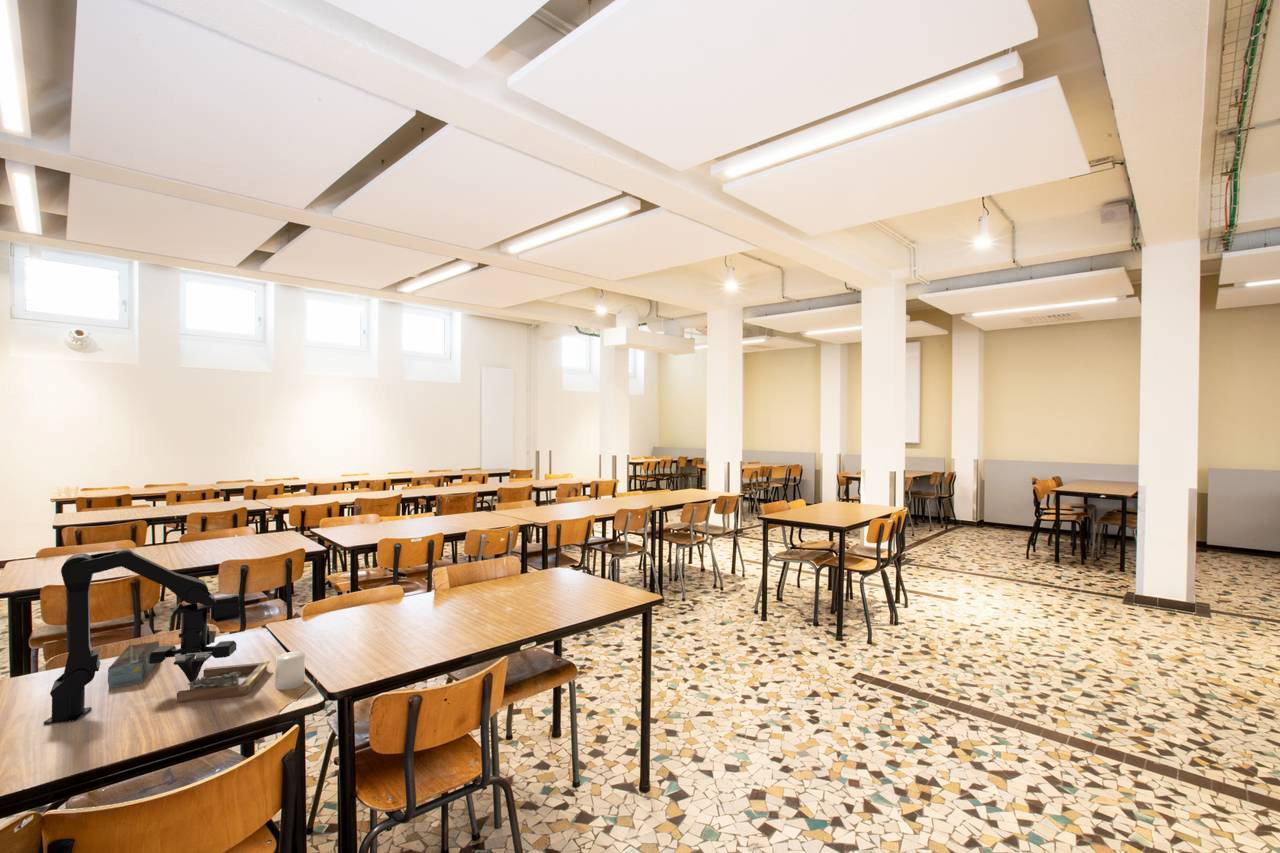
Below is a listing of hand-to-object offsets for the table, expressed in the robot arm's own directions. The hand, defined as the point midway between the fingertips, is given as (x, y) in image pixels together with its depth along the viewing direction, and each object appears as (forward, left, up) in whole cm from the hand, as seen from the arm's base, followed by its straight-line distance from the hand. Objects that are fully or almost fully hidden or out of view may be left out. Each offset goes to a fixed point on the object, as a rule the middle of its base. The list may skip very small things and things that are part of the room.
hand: (193, 683), depth 158 cm
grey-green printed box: (+17, +21, -2) cm, 27 cm away
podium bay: (0, -8, -2) cm, 8 cm away
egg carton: (-3, -6, -2) cm, 7 cm away
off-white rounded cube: (-4, -25, -2) cm, 25 cm away
